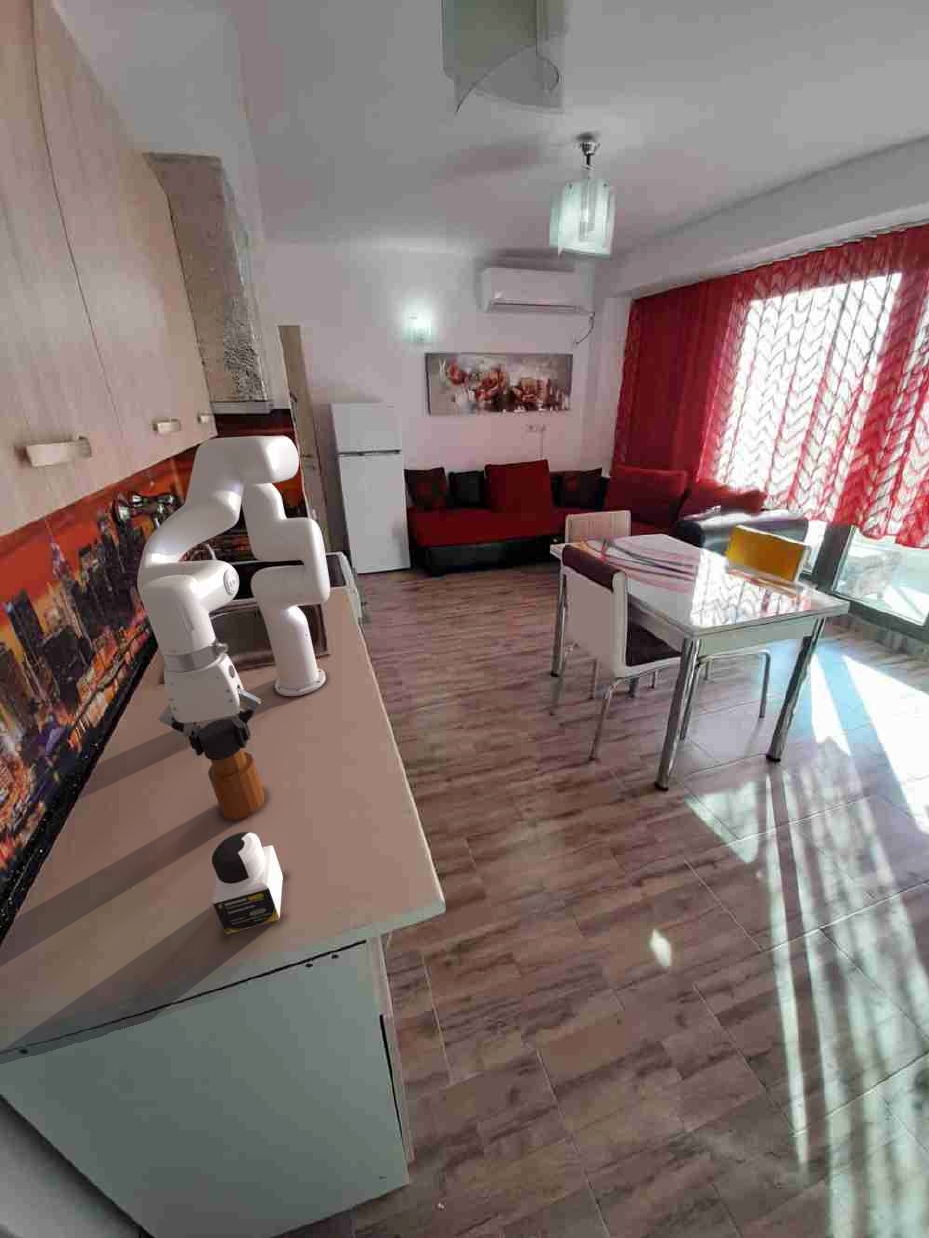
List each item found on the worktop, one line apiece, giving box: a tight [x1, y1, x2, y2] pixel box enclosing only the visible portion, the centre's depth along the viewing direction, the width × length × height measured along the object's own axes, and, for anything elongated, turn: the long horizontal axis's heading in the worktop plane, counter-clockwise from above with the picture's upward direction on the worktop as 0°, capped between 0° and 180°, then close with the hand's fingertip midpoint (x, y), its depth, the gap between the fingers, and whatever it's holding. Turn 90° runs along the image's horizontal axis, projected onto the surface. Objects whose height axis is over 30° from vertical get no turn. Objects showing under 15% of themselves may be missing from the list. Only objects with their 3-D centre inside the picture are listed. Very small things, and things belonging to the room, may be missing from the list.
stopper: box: [198, 718, 241, 761], centre depth 81 cm, size 6×6×8 cm
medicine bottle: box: [211, 831, 284, 935], centre depth 66 cm, size 7×7×12 cm
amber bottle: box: [207, 748, 266, 820], centre depth 84 cm, size 7×7×13 cm
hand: (223, 745), depth 81 cm, fingers open, 6 cm apart
